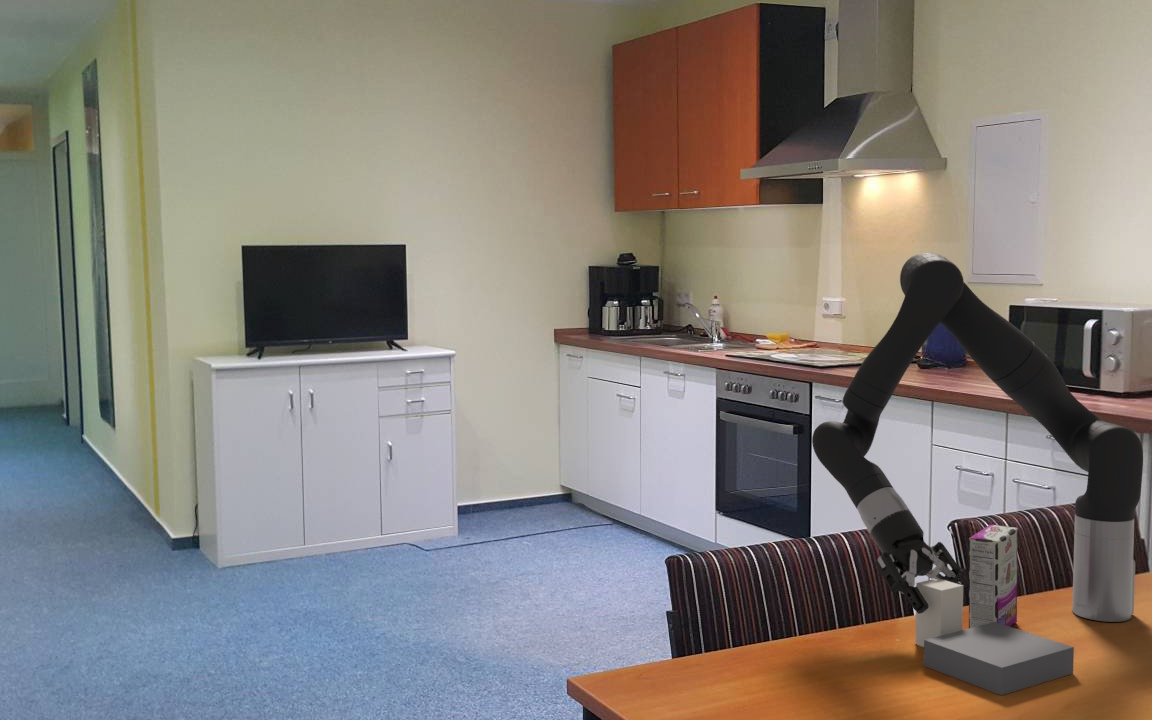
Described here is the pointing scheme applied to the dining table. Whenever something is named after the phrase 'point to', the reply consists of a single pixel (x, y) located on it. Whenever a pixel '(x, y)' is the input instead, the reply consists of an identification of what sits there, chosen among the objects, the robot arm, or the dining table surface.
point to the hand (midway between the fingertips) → (943, 606)
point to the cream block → (939, 609)
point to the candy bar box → (993, 576)
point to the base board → (998, 657)
